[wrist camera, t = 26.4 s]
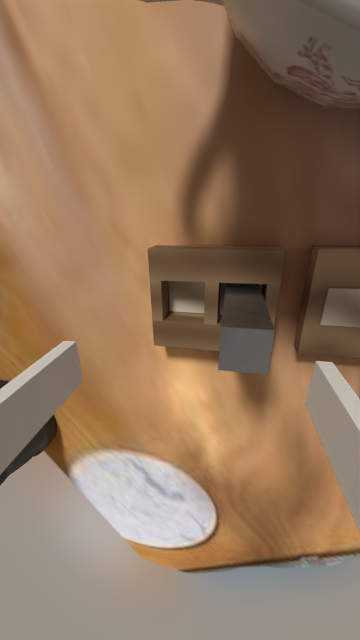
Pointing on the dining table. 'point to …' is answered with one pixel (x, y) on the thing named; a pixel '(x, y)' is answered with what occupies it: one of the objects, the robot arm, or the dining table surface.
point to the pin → (245, 330)
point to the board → (331, 304)
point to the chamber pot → (303, 45)
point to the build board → (205, 288)
